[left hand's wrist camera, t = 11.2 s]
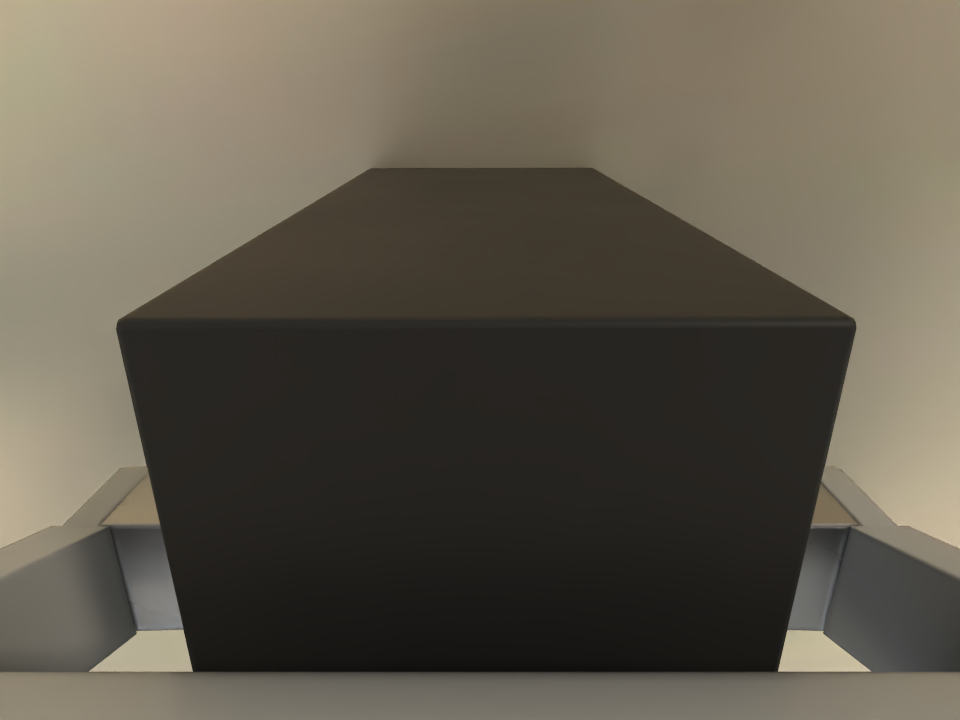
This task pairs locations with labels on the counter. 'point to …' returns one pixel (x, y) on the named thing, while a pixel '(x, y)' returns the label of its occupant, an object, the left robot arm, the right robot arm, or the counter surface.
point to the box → (485, 434)
